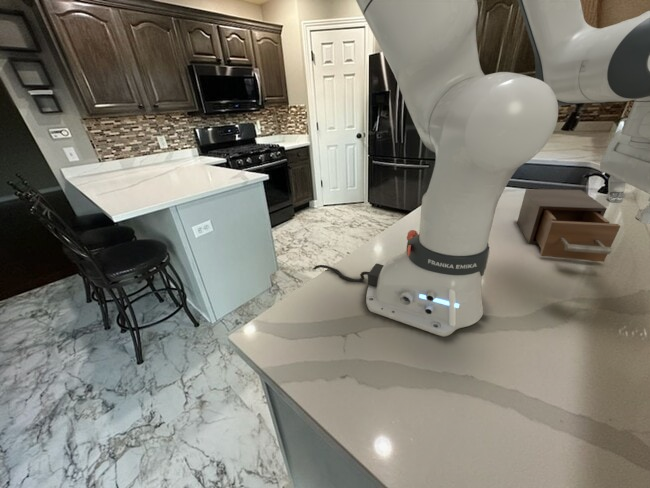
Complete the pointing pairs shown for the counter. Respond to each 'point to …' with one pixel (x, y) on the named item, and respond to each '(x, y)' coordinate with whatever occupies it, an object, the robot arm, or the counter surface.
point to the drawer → (575, 234)
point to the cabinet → (552, 207)
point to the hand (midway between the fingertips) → (627, 211)
